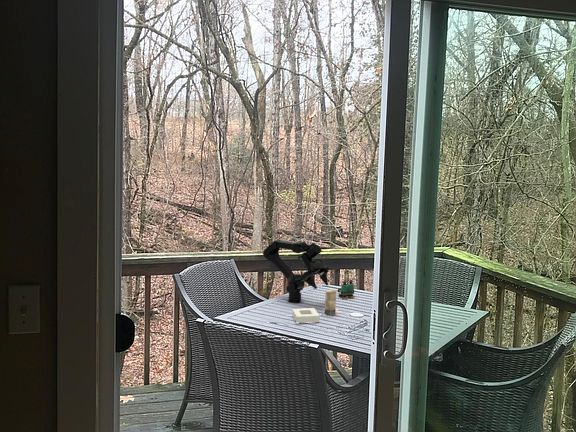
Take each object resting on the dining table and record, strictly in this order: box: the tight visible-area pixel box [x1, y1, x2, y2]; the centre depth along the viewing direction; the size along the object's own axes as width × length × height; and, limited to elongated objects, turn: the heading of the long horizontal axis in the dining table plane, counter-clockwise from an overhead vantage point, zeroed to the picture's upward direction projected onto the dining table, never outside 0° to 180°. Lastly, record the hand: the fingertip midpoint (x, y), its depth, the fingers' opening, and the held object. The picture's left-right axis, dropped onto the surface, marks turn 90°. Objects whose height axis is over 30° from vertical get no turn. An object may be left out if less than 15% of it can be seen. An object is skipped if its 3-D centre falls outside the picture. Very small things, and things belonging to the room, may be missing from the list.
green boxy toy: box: [337, 279, 355, 300], centre depth 361 cm, size 9×11×10 cm
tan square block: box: [324, 289, 337, 317], centre depth 332 cm, size 4×4×13 cm
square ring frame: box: [291, 307, 320, 323], centre depth 324 cm, size 12×12×4 cm
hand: (322, 286), depth 336 cm, fingers open, 9 cm apart
